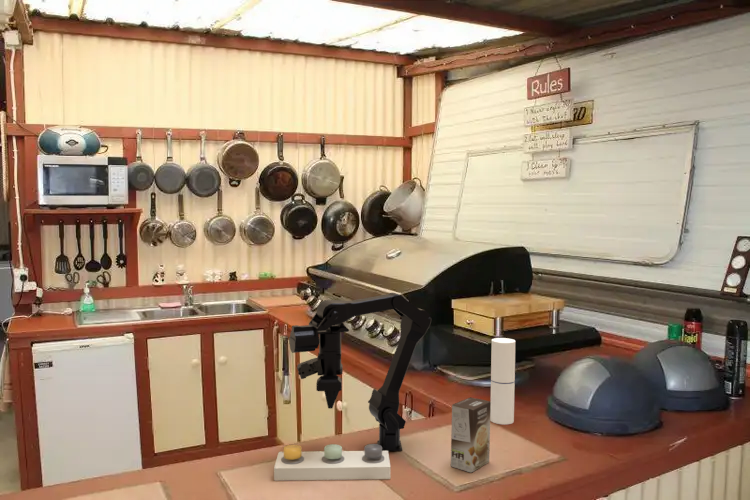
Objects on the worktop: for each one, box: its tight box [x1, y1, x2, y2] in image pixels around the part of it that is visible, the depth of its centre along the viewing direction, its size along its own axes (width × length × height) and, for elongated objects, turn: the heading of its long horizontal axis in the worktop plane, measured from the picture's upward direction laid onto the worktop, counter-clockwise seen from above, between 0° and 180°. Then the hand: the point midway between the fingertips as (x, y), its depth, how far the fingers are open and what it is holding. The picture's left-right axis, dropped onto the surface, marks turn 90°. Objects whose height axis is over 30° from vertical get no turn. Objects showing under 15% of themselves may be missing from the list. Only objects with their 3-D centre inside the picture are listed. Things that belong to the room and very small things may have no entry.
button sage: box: [323, 443, 343, 459], centre depth 154 cm, size 4×4×2 cm
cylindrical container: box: [490, 337, 516, 425], centre depth 190 cm, size 7×7×25 cm
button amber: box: [283, 444, 303, 460], centre depth 153 cm, size 4×4×2 cm
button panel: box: [273, 450, 391, 482], centre depth 154 cm, size 10×28×3 cm, turn 92°
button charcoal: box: [363, 443, 382, 459], centre depth 154 cm, size 4×4×2 cm
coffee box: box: [450, 397, 491, 473], centre depth 158 cm, size 9×6×16 cm
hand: (330, 408), depth 162 cm, fingers closed
